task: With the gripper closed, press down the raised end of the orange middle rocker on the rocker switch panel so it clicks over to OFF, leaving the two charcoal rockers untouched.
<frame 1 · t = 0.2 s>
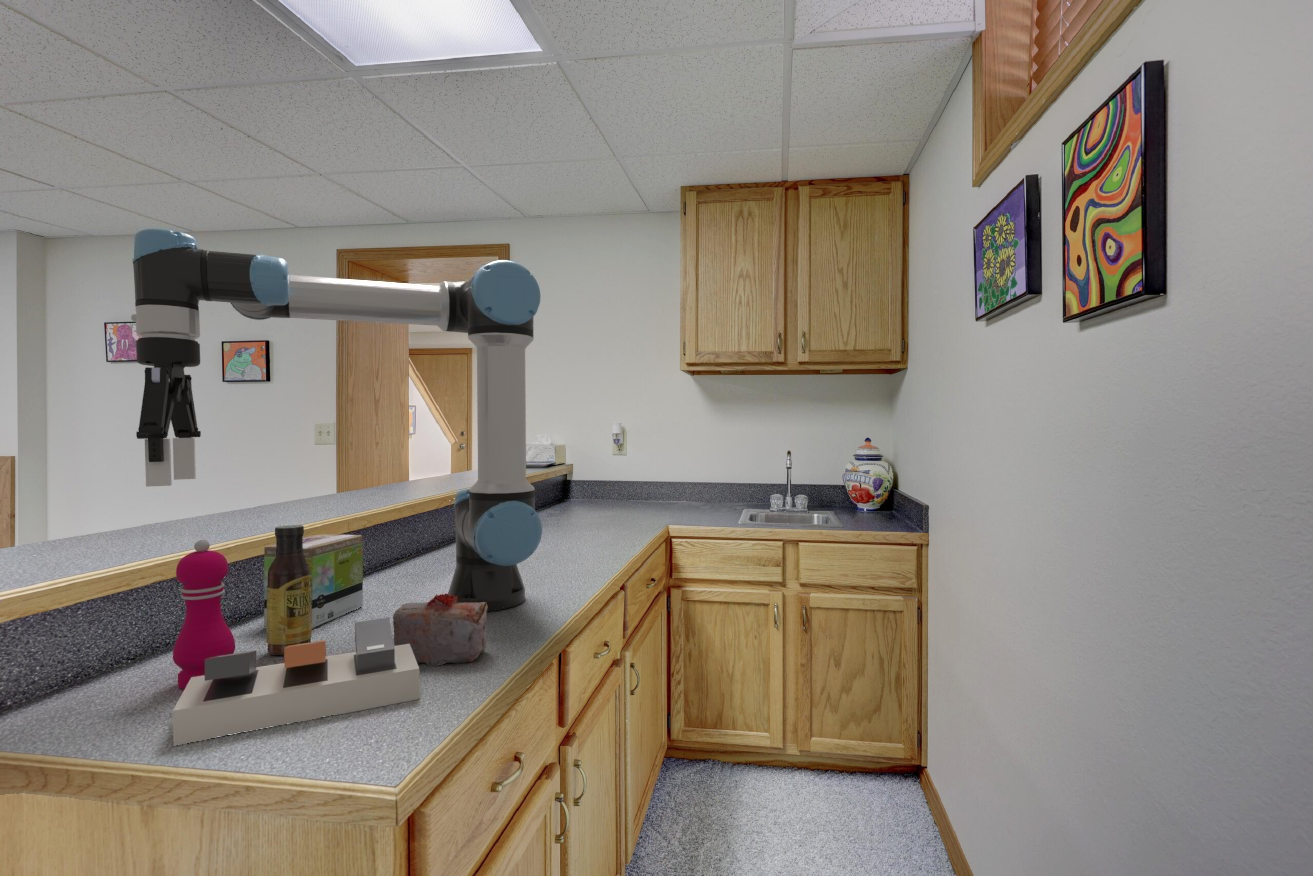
hand: (172, 482, 96), 28 cm above the counter, tool pointing down, fingers open, 13 cm apart
sauce bottle: (290, 651, 103), on the counter
rocker end c: (231, 664, 79), point 7 cm above the counter, hinge at 15.0°
rocker middle: (306, 653, 83), point 7 cm above the counter, hinge at 15.0°
tea box: (316, 618, 122), on the counter
food item: (442, 660, 99), on the counter
pepper mill: (205, 683, 91), on the counter
rocker end a: (374, 643, 86), point 7 cm above the counter, hinge at -15.0°
rocker switch panel: (307, 703, 83), on the counter
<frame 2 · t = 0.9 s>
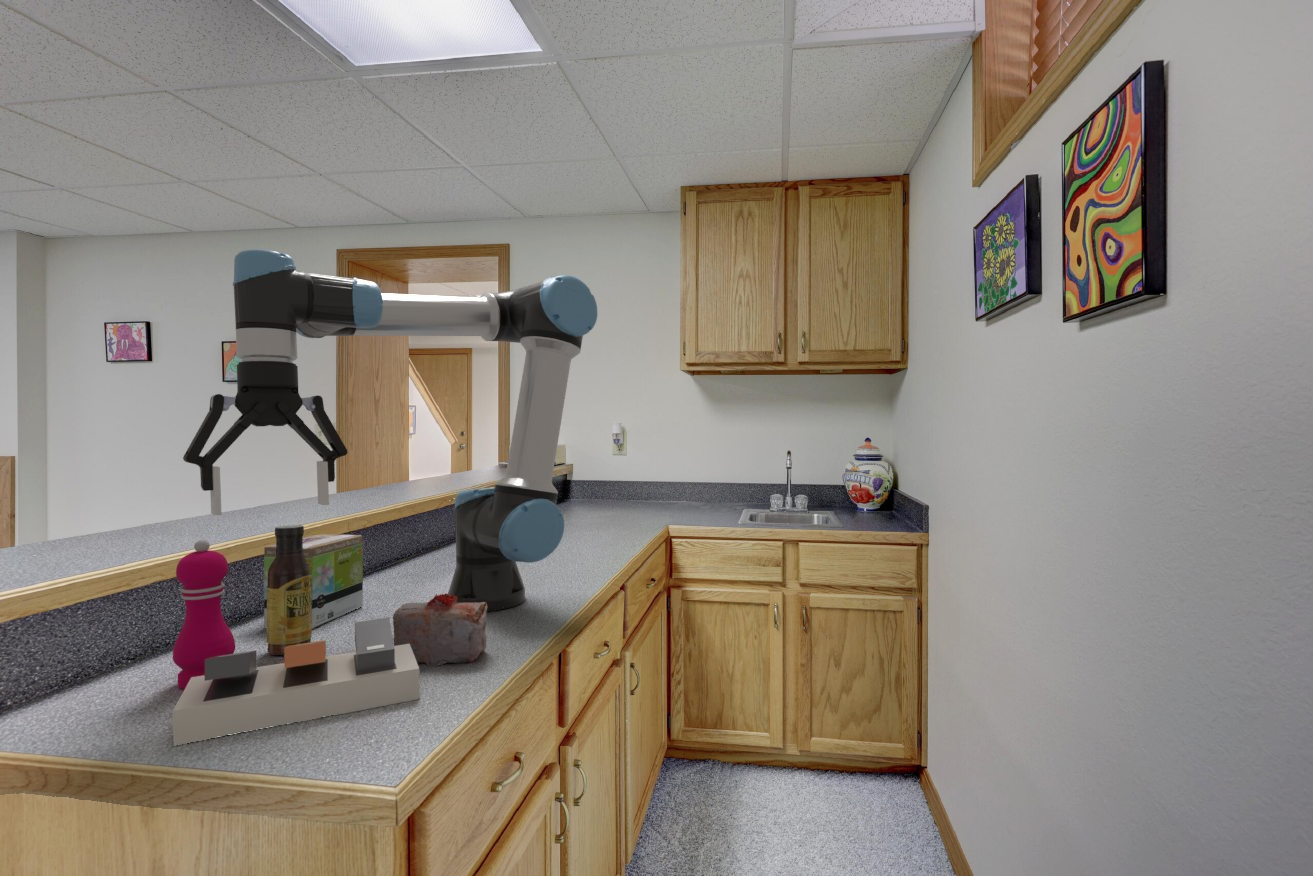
hand: (272, 509, 93), 24 cm above the counter, tool pointing down, fingers open, 13 cm apart
nothing on the counter moved.
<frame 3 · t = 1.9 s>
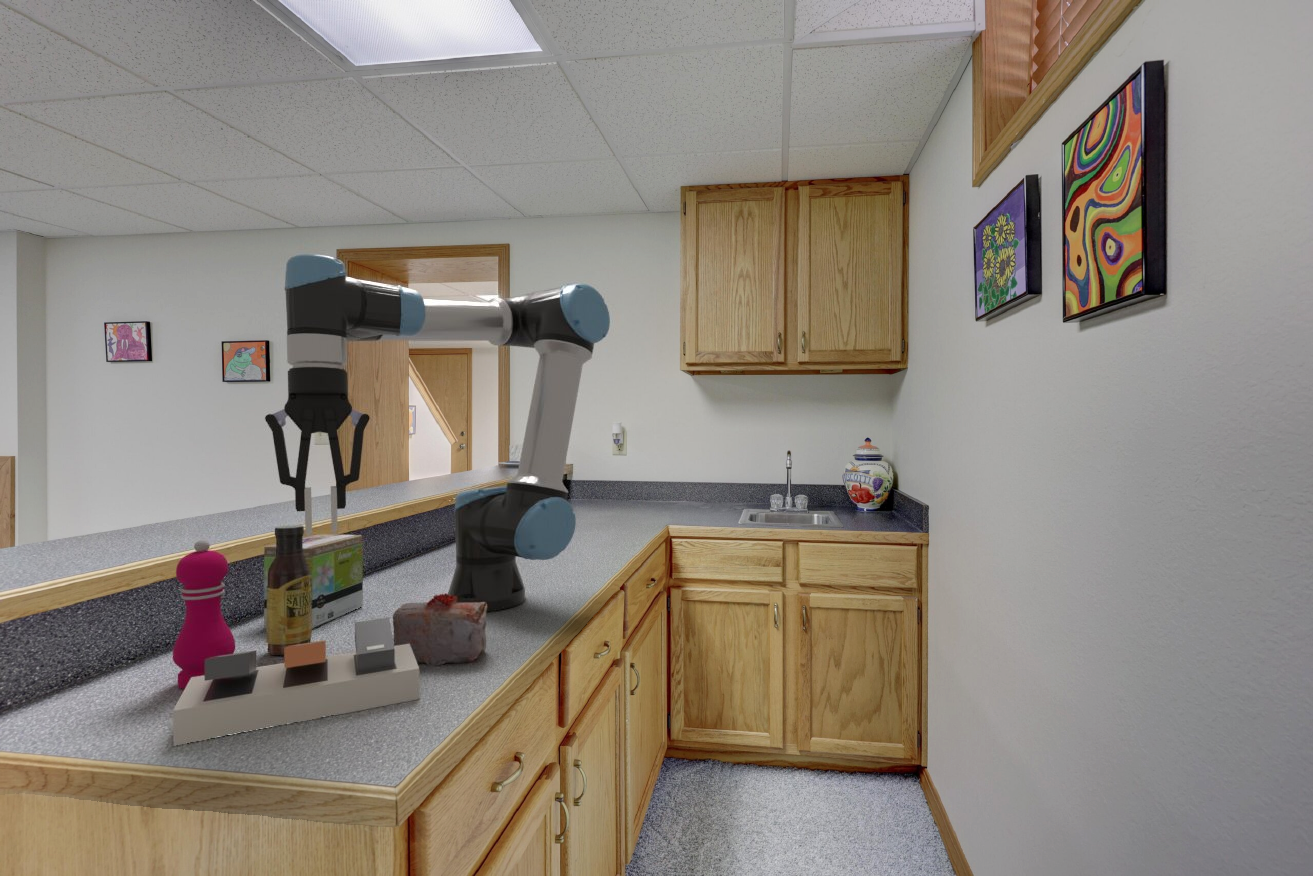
hand: (321, 532, 92), 21 cm above the counter, tool pointing down, fingers open, 3 cm apart
nothing on the counter moved.
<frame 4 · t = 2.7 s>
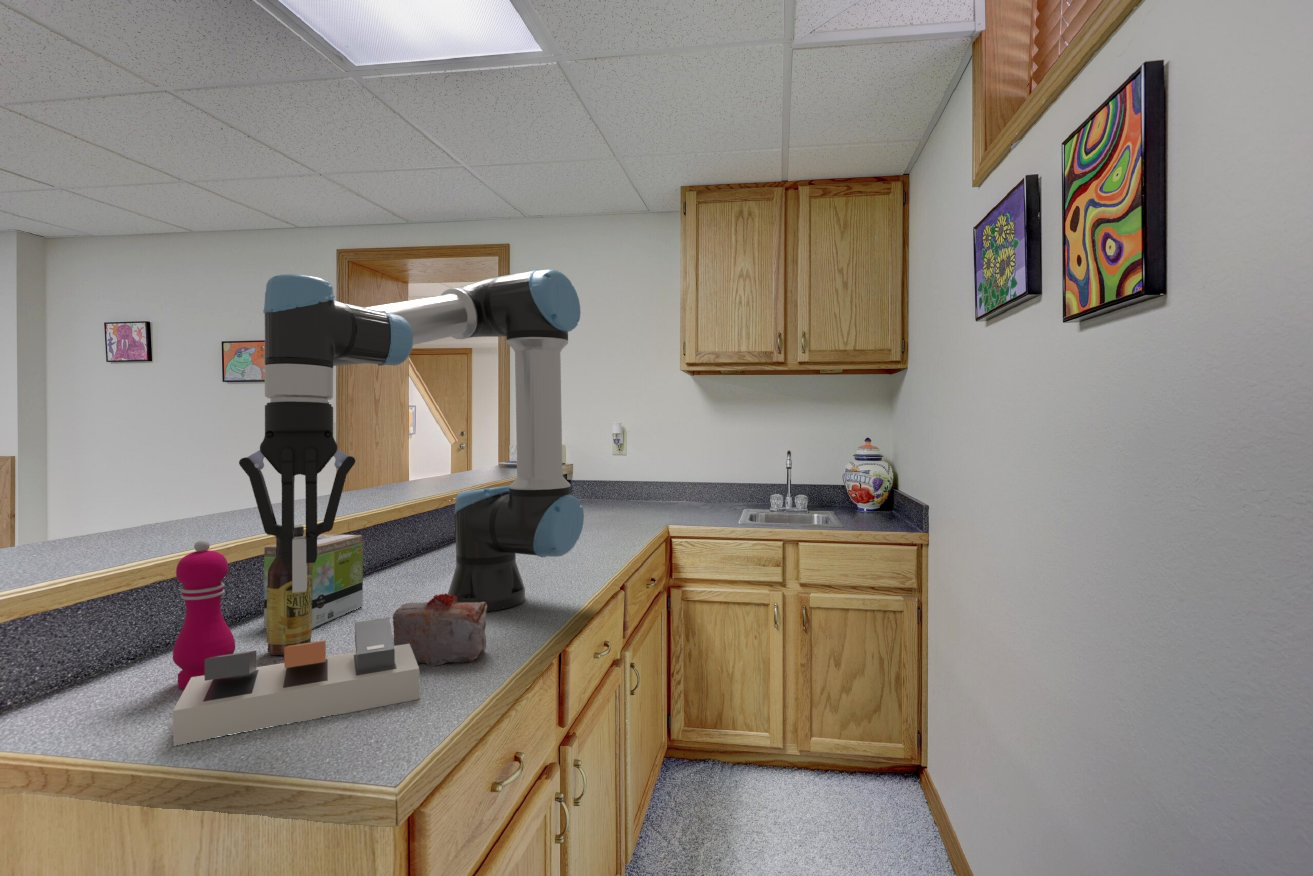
hand: (299, 589, 81), 15 cm above the counter, tool pointing down, fingers closed
nothing on the counter moved.
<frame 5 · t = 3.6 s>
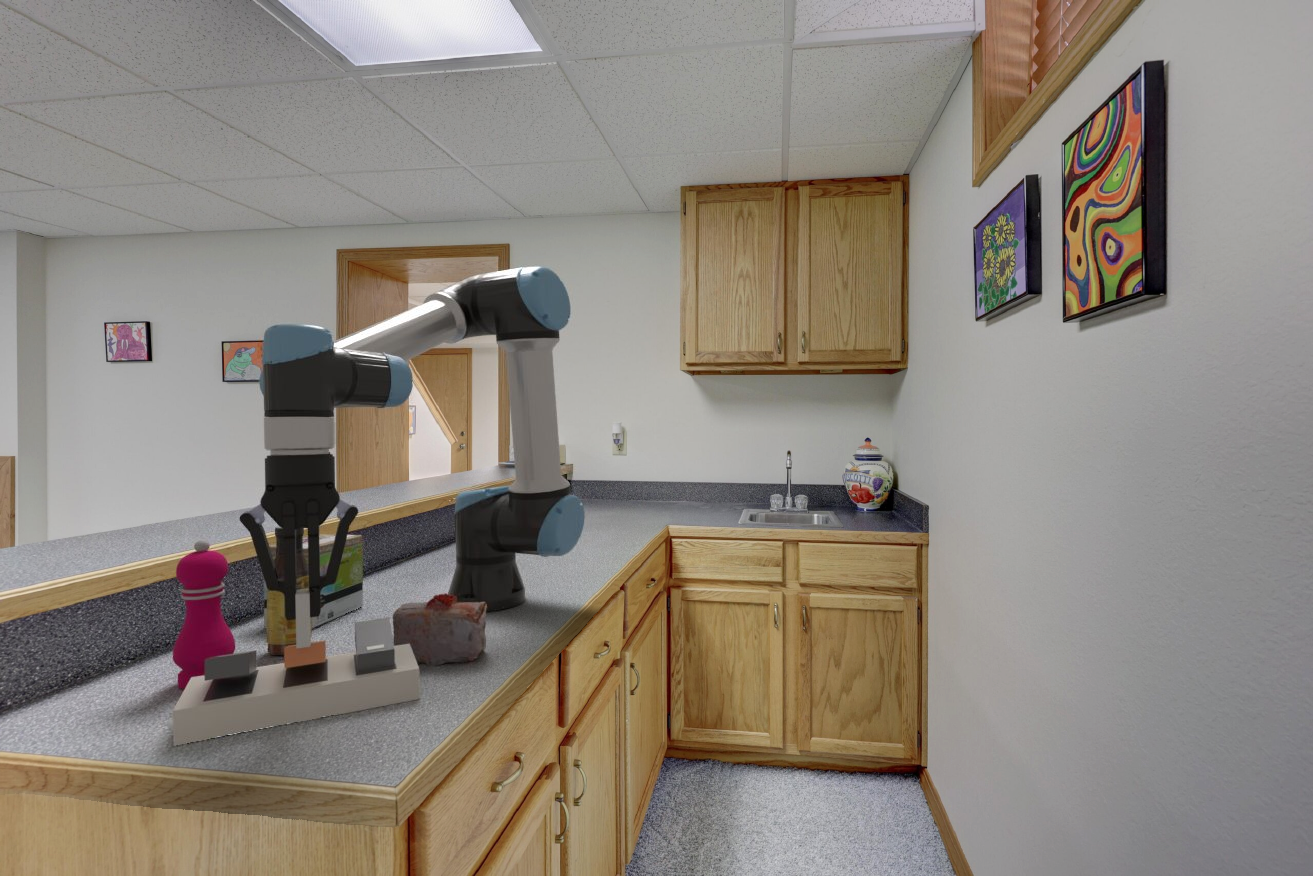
hand: (303, 644, 79), 9 cm above the counter, tool pointing down, fingers closed
rocker middle: (306, 653, 83), point 7 cm above the counter, hinge at 14.9°, touching gripper
everything else where it was.
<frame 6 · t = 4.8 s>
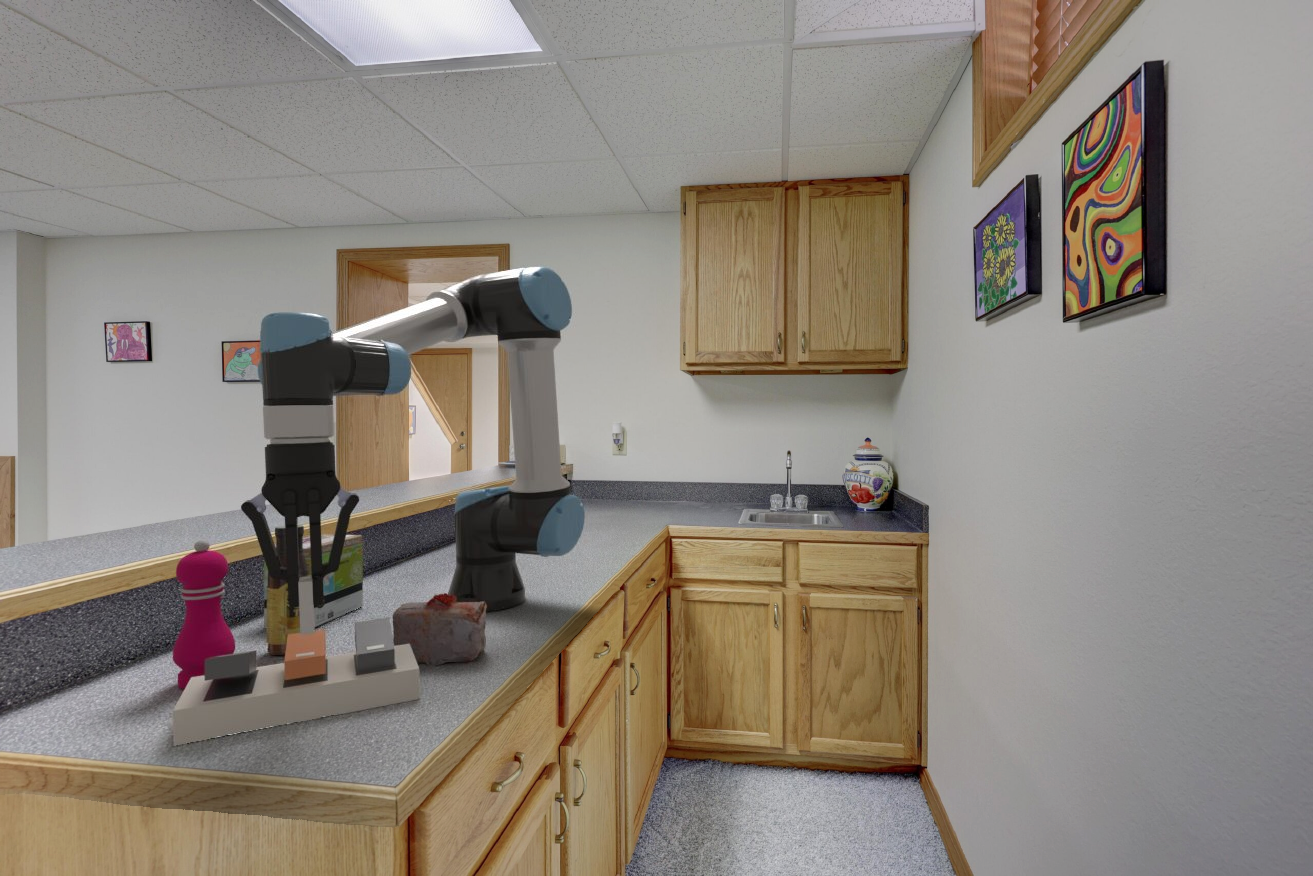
hand: (307, 631, 80), 10 cm above the counter, tool pointing down, fingers closed
rocker middle: (306, 653, 83), point 7 cm above the counter, hinge at -7.5°
everything else where it was.
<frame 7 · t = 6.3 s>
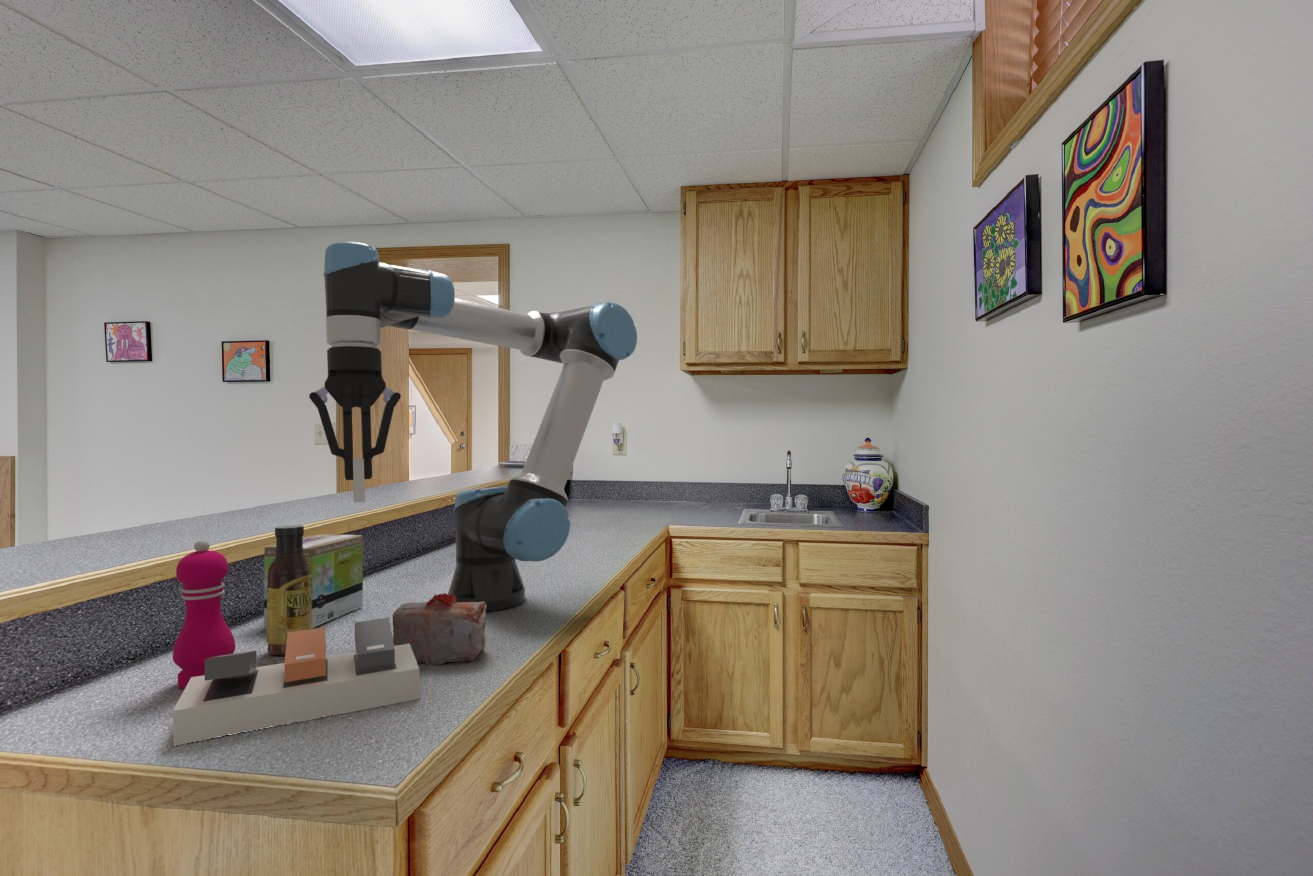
hand: (359, 501, 99), 24 cm above the counter, tool pointing down, fingers closed
rocker middle: (306, 653, 83), point 7 cm above the counter, hinge at -12.5°
everything else where it was.
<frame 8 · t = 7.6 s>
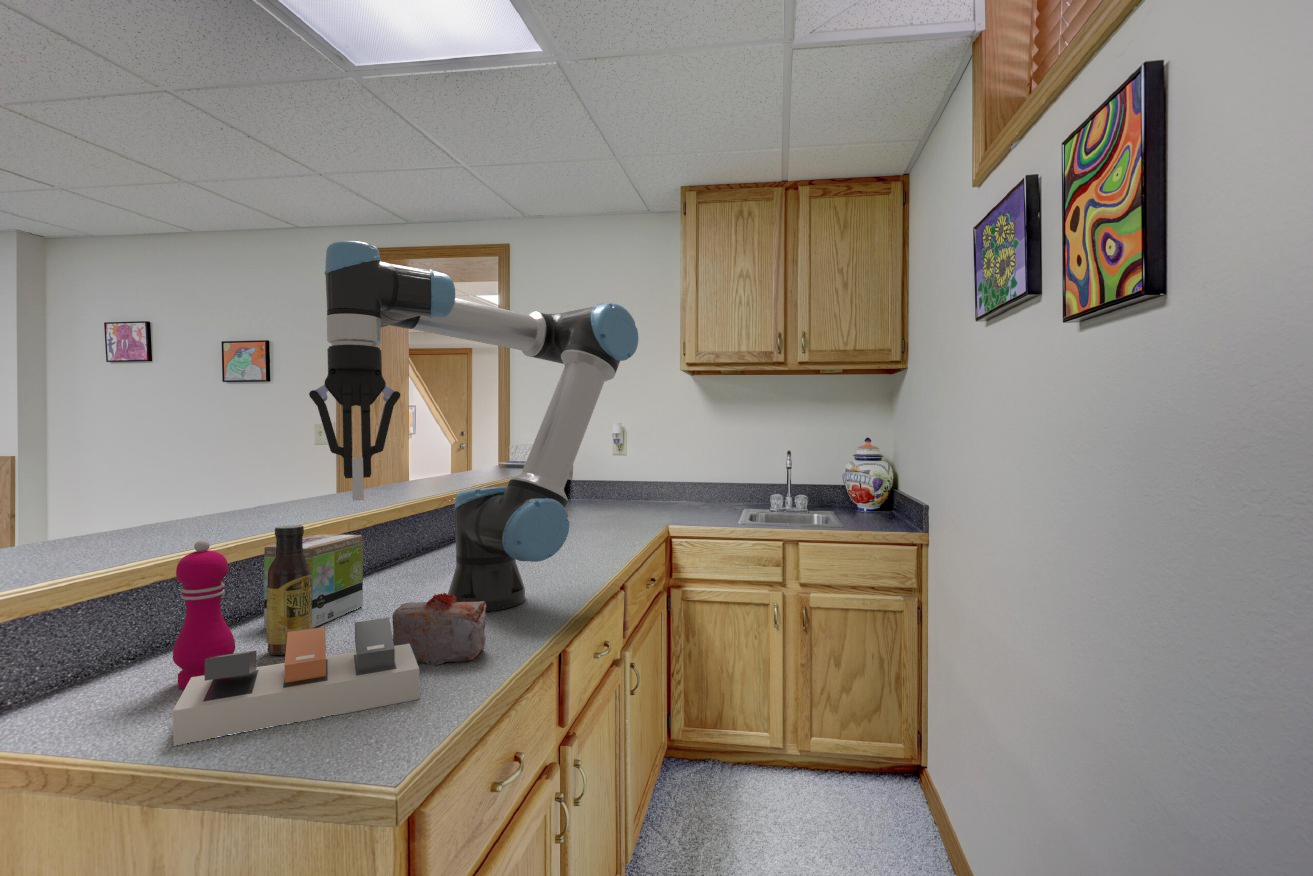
hand: (358, 499, 99), 24 cm above the counter, tool pointing down, fingers closed
rocker middle: (306, 653, 83), point 7 cm above the counter, hinge at -13.6°
everything else where it was.
at the end: rocker middle at -14° (first picture: +15°); rocker end c at +15° (first picture: +15°); rocker end a at -15° (first picture: -15°) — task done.
